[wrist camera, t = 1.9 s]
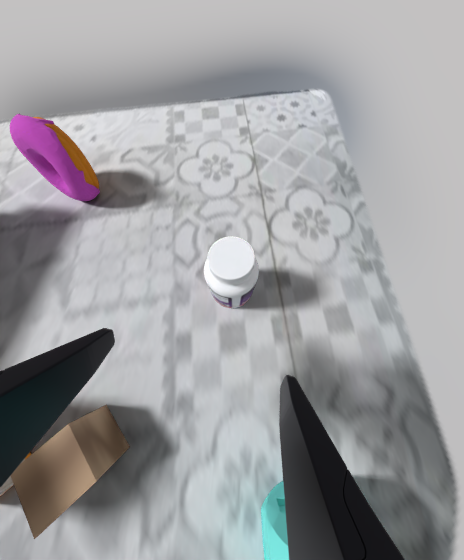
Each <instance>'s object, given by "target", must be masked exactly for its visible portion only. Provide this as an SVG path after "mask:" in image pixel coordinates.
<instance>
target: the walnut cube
mask: <svg viewBox="0 0 464 560" xmlns="http://www.w3.org/2000/svg"><path fill="white" fill-rule="evenodd" d="M129 447H130V446H129V444H128V443H127V441H126V439H125V437H124V435H123V434H122V432H121V430H120V428H119V427H118V425H117V423H116V421H115V419H114V418H113V416H112V414H111V412H110V410H109V409H108V407H107V405H105V406H103V407H101V408H99V409H97V410H95V411H93V412H91V413H89V414H87V415H85V416H83V417H81V418H79V419H77V420H75V421H73V422H71V423H69V424H68V425H66V426H65V427H64V428H63V429H62V430H60V431H59V432H58V433H57V434H56V435H54V436H53V437H52V438H51V439H50V440H48V441H47V442H46V443H45V444H44V445H42V446H41V447H40V448H39V449H38V450H36V451H35V452H34V453H33V454H32V455H30V456H29V457H28V458H27V459H26V460H24V461H23V462H22V463H21V464H20V465H19V466H18V467H17V468H16V470H15V471H14V472H13V473H12V474H11V478H12V481H13V484H14V486H15V489H16V491H17V494H18V497H19V499H20V502H21V505H22V507H23V510H24V513H25V515H26V518H27V521H28V523H29V526H30V529H31V531H32V534H33V537H34V539H35V538H36V537H37V536H39V535H40V534H41V533H42V532H43V531H44V530H45V529H46V528H47V527H48V526H49V525H50V524H51V523H52V522H54V521H55V520H56V519H57V518H58V517H59V516H60V515H61V514H62V513H63V512H64V511H65V510H66V509H68V508H69V507H70V506H71V505H72V504H73V503H74V502H75V501H76V500H77V499H78V498H79V497H80V496H81V495H83V494H84V493H85V492H86V491H87V490H88V489H89V488H90V487H91V486H92V485H93V484H94V483H95V482H96V481H97V480H98V479H99V478H100V477H101V476H102V475H103V474H104V473H105V472H106V471H107V470H108V469H109V468H110V467H111V466H112V465H113V464H114V463H115V462H116V461H117V460H118V459H119V458H120V457H121V456H122V455H123V454H124V453H125V452H126V451H127V449H128V448H129Z"/></svg>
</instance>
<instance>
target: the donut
mask: <svg viewBox="0 0 464 560" xmlns="http://www.w3.org/2000/svg"><path fill="white" fill-rule="evenodd" d="M10 133H11V136H12V139H13V141H14V143H15V145H16V146H17V148H18V149H19V150H20V152H21V153H22V154H23V155H24V156H25V157H26V158H27V159H28V161H29V162H30V163H31V164H32V165H33V166H34V167H35V168H36V169H37V170H38V171H39V172H40V173H41V174H42V175H43V176H44V177H45V178H46V179H47V180H48V181H49V182H50V183H51V184H52V185H53V186H55V187H56V188H57V189H59V190H60V191H61V192H63V193H64V194H66V195H67V196H69V197H71V198H73V199H76V200H80V201H90V200H93V199H94V198H95V197H96V196H97V195H98V194H99V193H100V190H99V182H98V179H97V177H96V174H95V172H94V170H93V169H92V167H91V165H90V163H89V162H88V160H87V159H86V157H85V156H84V154H83V153H82V152H81V150H80V149H79V148H78V146H77V145H76V144H75V143H74V142H73V141H72V140H71V138H70V137H69V136H68V135H66V134H65V133H64V132H63V131H62V130H61V129H60V128H58V127H57V126H56V125H54V122H53V121H50V120H45V119H43V118H40V117H29V116H23V115H20V114H18V115H16V116H14V118H13V119H12V120H11V123H10Z"/></svg>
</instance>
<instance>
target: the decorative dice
mask: <svg viewBox="0 0 464 560" xmlns="http://www.w3.org/2000/svg"><path fill="white" fill-rule="evenodd" d="M261 518H262V534H263V547H264V558H265V560H289V551H288V538H287V524H286V510H285V496H284V483H283V481H282V482H280V483H279V484H277V485H276V486H275V487H274V488H273V489H272V491H271V492H270V493H269V494H268V496H267V497H266V499H265V501H264V503H263V505H262V507H261Z"/></svg>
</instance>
